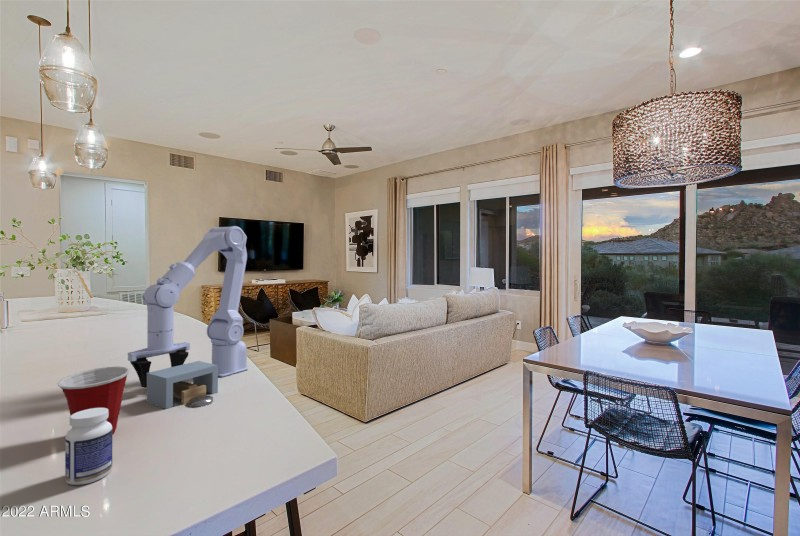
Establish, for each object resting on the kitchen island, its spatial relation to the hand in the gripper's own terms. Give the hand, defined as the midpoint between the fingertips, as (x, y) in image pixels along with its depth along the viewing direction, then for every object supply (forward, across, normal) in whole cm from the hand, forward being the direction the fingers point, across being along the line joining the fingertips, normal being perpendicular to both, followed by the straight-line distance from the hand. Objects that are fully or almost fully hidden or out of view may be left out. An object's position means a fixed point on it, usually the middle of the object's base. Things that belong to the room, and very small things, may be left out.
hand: (160, 382), depth 99 cm
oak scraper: (+2, 0, +5) cm, 6 cm away
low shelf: (+2, 0, +10) cm, 10 cm away
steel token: (+2, 0, +17) cm, 17 cm away
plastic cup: (+2, +21, +16) cm, 26 cm away
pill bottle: (+2, +28, +31) cm, 42 cm away
